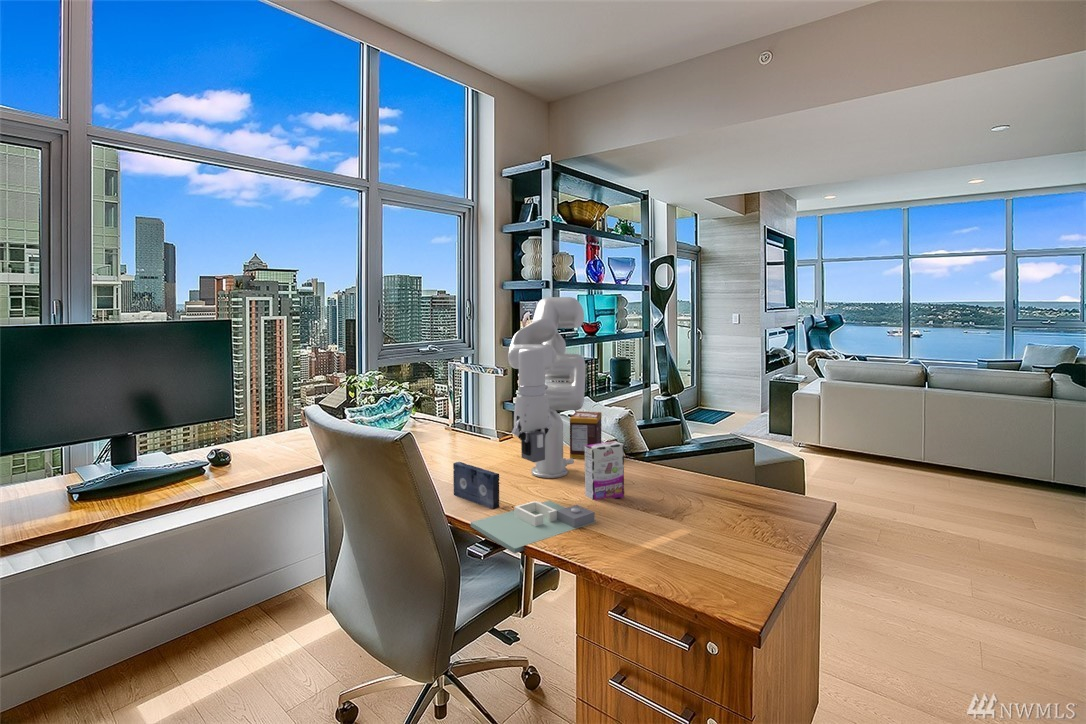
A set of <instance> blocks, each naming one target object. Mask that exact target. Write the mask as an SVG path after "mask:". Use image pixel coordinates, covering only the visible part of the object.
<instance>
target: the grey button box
mask: <svg viewBox="0 0 1086 724" xmlns="http://www.w3.org/2000/svg"><path fill="white" fill-rule="evenodd" d="M595 519H596V512H595V511H592V510H590V509H588V508H585V507H584V506H581V505H579V504H575V505H572V506H568V507H565V508H564V509H561V510H558V511H557V520H558V521H560V522H563V523H565V524H567V525H569V526H571V527H573V528H576V527H579V526H582V525H585V524H588V523H591V522H594V521H596V520H595Z"/></svg>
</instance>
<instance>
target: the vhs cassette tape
mask: <svg viewBox="0 0 1086 724" xmlns="http://www.w3.org/2000/svg"><path fill="white" fill-rule="evenodd" d="M452 465H453V467H452V468H453V496H454V497H455V496H456V497H458V498H461V499H464V500H466V501H469V502H472V503H475V504H478V505H480V506H482V507H486V508H487V509H488V508H489V509H491V510H495V509H498V508H500V482H499V481H500V473H496V472H495V471H491V470H488V469H484V468H481V467H479V466H475V465H472V464H468V463H464V462H462V461H456V462H453V464H452Z"/></svg>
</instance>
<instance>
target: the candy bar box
mask: <svg viewBox="0 0 1086 724" xmlns="http://www.w3.org/2000/svg"><path fill="white" fill-rule="evenodd" d="M624 448H625V445H624V443H622V442H620V441H617V440H613V441H607V442H606V441H605V442H601V443H598V444H592V445H585V459H584V478H585V479H584V495H585V497H587V498H589V499H591V500H592V501H593V500H601V499H605V498H612V499H615V500H619V499H622V498H624V497H625V453H624V452H625V449H624Z"/></svg>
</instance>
